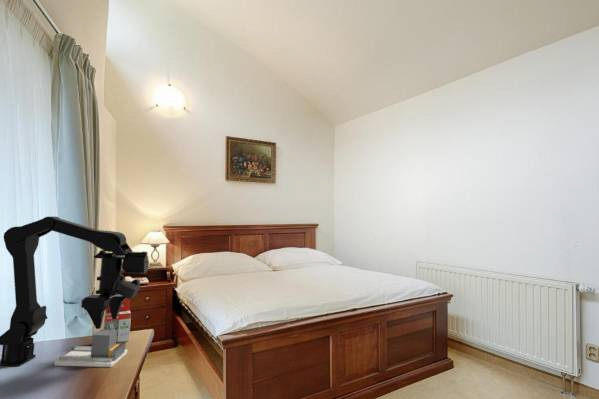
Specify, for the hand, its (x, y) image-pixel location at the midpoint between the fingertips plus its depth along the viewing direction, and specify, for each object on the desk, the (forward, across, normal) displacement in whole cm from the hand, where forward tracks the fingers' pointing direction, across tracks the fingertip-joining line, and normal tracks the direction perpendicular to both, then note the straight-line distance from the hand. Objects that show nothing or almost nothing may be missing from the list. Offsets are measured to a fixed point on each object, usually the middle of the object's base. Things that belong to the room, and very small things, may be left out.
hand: (106, 323), depth 99 cm
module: (+10, 0, 0) cm, 10 cm away
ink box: (+11, +14, +3) cm, 18 cm away
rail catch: (+9, 0, -3) cm, 10 cm away
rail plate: (+11, 0, +3) cm, 11 cm away
